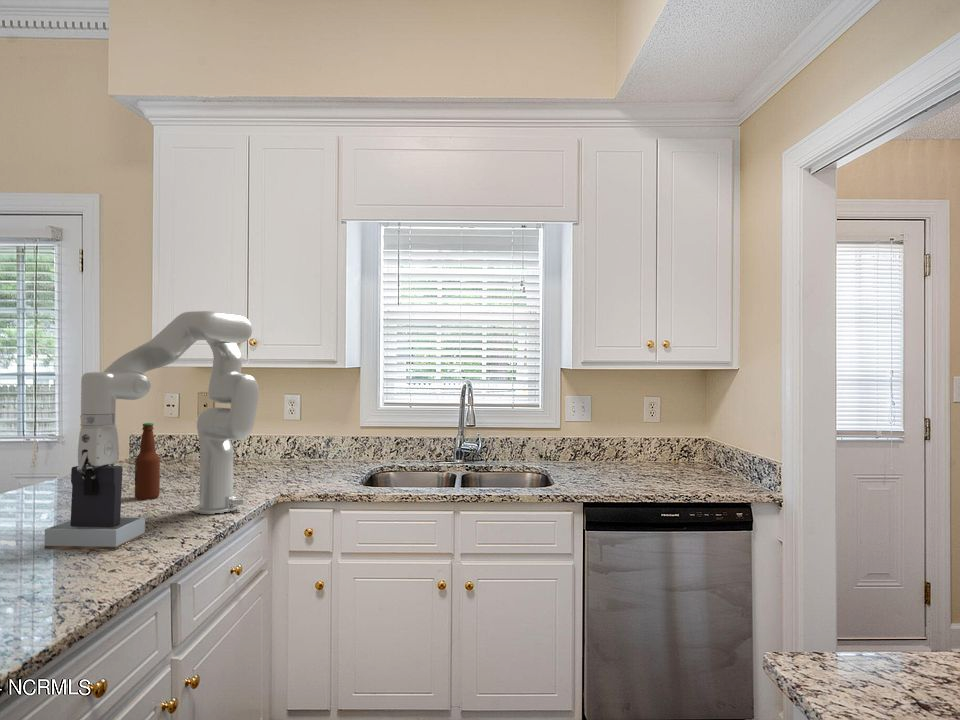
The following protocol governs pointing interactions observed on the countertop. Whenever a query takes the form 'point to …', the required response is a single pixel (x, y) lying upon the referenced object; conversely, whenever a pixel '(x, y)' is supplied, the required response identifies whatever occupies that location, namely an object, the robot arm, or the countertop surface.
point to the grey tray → (95, 533)
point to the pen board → (89, 546)
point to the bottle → (147, 467)
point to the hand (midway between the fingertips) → (97, 492)
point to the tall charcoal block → (97, 499)
